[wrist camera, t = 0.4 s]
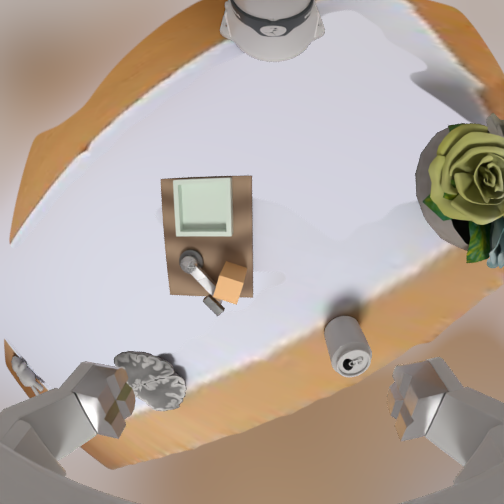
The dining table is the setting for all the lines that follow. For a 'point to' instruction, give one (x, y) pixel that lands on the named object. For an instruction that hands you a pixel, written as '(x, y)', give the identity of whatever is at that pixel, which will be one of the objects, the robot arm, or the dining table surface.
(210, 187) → the tray
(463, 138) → the flower arrangement
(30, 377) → the bunny figurine
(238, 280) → the block
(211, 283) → the crank
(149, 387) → the brain slice
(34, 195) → the dining table surface
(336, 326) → the can
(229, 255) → the mechanism board
